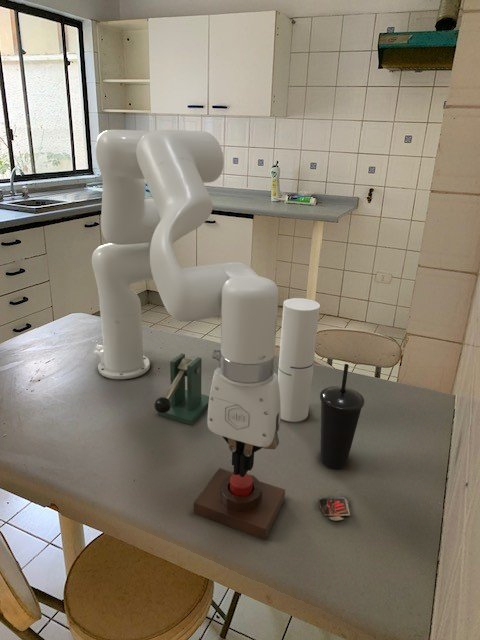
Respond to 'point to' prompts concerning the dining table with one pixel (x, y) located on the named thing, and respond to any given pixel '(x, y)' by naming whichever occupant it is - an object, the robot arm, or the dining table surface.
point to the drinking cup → (338, 422)
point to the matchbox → (334, 507)
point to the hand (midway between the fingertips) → (242, 470)
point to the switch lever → (172, 388)
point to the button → (241, 485)
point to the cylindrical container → (297, 357)
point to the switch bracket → (187, 393)
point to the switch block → (240, 505)
